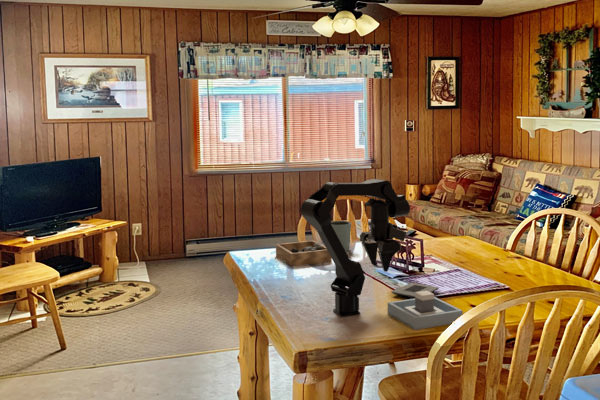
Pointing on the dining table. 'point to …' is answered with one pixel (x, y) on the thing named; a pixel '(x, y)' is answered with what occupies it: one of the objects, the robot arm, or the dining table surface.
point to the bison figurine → (308, 248)
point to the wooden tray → (302, 253)
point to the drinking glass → (343, 232)
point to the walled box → (423, 314)
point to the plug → (424, 301)
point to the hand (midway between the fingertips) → (379, 267)
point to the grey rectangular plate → (413, 289)
